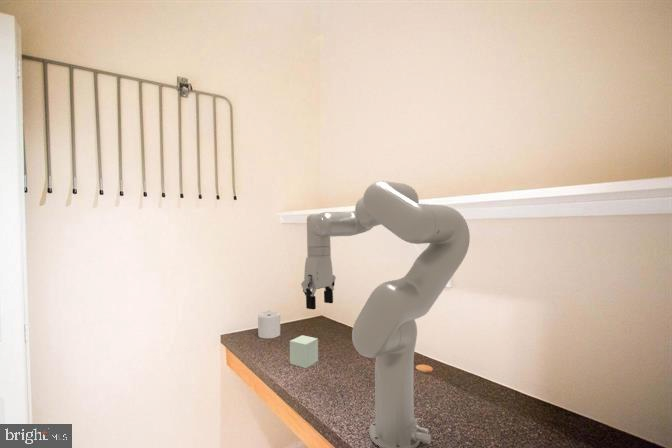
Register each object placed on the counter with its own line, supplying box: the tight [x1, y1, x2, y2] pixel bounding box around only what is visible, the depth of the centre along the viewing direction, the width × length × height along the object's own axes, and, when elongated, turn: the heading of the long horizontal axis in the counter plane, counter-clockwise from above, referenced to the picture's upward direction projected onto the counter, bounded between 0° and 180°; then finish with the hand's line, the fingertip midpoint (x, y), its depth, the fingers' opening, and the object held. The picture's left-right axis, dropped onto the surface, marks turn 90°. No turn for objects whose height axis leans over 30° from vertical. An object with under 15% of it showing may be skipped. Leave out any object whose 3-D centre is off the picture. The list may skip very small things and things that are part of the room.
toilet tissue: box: [257, 310, 281, 339], centre depth 160 cm, size 11×12×10 cm
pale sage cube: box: [289, 334, 319, 369], centre depth 127 cm, size 8×8×9 cm
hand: (320, 305), depth 104 cm, fingers open, 9 cm apart
